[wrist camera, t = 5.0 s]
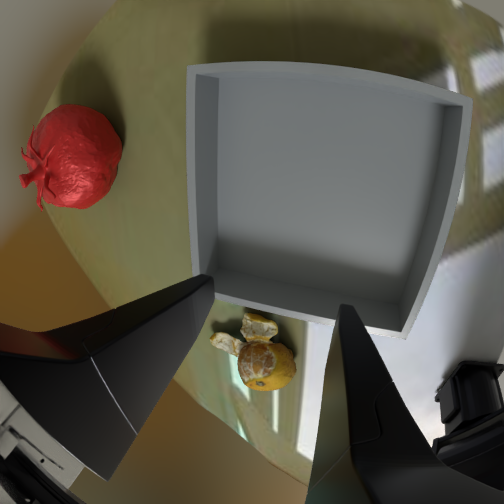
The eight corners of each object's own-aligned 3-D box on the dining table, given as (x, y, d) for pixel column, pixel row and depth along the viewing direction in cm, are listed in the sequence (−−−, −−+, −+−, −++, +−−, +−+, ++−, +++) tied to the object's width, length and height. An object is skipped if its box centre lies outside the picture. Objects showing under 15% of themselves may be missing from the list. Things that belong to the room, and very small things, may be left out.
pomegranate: (90, 82, 20) (8, 93, 13) (150, 141, 21) (61, 168, 14) (60, 158, 26) (-7, 184, 18) (109, 216, 27) (40, 258, 19)
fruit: (262, 304, 24) (249, 334, 21) (320, 358, 26) (314, 389, 23) (206, 336, 29) (192, 362, 26) (260, 380, 30) (251, 406, 27)
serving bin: (450, 100, 13) (473, 98, 10) (401, 305, 21) (405, 339, 17) (216, 71, 17) (187, 65, 14) (216, 267, 25) (194, 293, 22)
